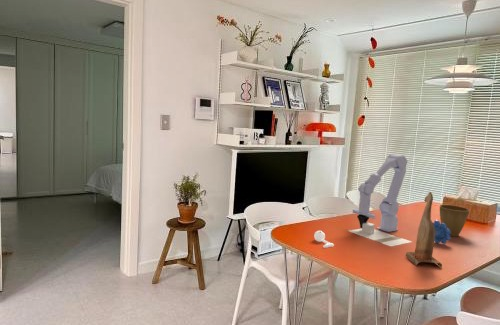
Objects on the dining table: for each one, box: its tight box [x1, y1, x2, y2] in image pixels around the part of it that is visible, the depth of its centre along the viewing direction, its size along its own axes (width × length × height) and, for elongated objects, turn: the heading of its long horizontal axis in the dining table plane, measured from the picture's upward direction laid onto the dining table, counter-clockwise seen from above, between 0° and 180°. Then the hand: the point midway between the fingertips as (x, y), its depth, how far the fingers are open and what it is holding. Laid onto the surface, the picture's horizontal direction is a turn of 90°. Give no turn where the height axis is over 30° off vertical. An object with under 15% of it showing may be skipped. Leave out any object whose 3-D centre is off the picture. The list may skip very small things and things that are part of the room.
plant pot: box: [439, 204, 470, 237], centre depth 202 cm, size 15×15×16 cm
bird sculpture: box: [405, 191, 443, 268], centre depth 154 cm, size 11×12×32 cm
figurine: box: [313, 230, 335, 249], centre depth 173 cm, size 8×6×12 cm
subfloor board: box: [348, 228, 412, 247], centre depth 191 cm, size 18×28×1 cm, turn 32°
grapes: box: [432, 219, 452, 245], centre depth 184 cm, size 12×7×12 cm, turn 57°
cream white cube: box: [361, 221, 376, 234], centre depth 196 cm, size 5×5×5 cm
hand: (362, 228), depth 201 cm, fingers closed
